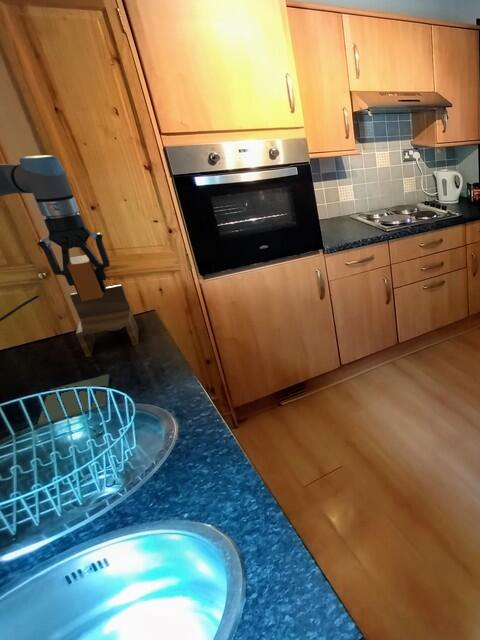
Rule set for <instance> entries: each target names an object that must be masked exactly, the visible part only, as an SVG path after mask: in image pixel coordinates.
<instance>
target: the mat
mask: <svg viewBox="0 0 480 640" xmlns="http://www.w3.org/2000/svg"><path fill="white" fill-rule="evenodd" d="M109 381H110V374H103V375H100V376H97V377H92V378H88V379H85V380H81V381H77V382H74V383H73V382H72V383H69V384H65V385H61V386H58V387H53V388H50V389H49V390H54V389H59V388H66V387H74V386H106V387H108V388H109ZM61 398H62V401H63V403H64V406H65V408H66V411H67V414H68V416H69V417H73V416H76V415H79V414H81V413H80V412H81V411H80V409H79V406H78V403H77V400H76V397H75V392H74V391H68V392H64V393H61ZM79 398H80V400H81V404H82V411H83V413H86V412H89V411H88V395H87V392H85V391H80V392H79ZM95 398H96V399H97V401H98V403H99V406H100V408H103V407H106V405H107V398H106V393H105V392H102V391H96V394H95ZM44 404H45V406H46V409H47V411H48V414H49V416H50V418H51V420H52V421H53V422H56V421H59V420H63V419H65V418H64V414H63V411H62V409H61V407H60V404H59V402H58V400H57V396H56V394H52V395H47V394H46V397H45V399H44V403H43V405H44ZM91 409H92V410H91V411H93V410H97V409H98V408H97V407H96V404H95V402H93V403H92V407H91ZM69 417H68V418H69ZM46 424H48V423H47V419H46V418H45V415H44V412H43V411H42V410H41V412H40V416H39V419H38V421H37V425H38V426H42V425H46Z"/></svg>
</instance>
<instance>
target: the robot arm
mask: <svg viewBox="0 0 480 640" xmlns="http://www.w3.org/2000/svg"><path fill="white" fill-rule="evenodd" d="M13 194H14V195H15V194H32V195H33V197H34V199H35V202H36V205H37V207H38V209H39V212H40V215H41V216H43V217H44V218H43V222H44V224H45V226H46V229H47V231H48V237H46V238H44V239H39V241H38V242H37V245H38V247H40V248H41V249H42V251H43V252H44V255H45V257H46V258H47V261H48V264H49V265H50V267H51V270H52V273H53V274H54V275H55V276H64V277H65V280H66V283H67V285H68V286H69V287H74V289H75V291H76V293H77V294H78V296H79V297H80V295H79V293H78V290H77V288H76V285H75V283H74V281H73V278H72V276H71V273H70V271H69V268H68V266H67V265H68V263H69V261H70V258H71V257H70V250H71V249H73V248H78V249H80V250H81V251H83V253H84V255H86V256H87V257H88V258H89V259H90V261H91V262H92V264H93V265H94V266H95V268H96V269H95V275H96V277H97V280H98V282H99V285H100V287H101V290H102V292H106V287H107V286H106V285H105V282H104V281H107V277H108V276H107V273H106V271H105V269H106V268H109V267H110V265H111V261H110V260H109V256H108V253H107V251H106V248H105V245H104V242H103V235H104V233H103V232H101V231H100V232H93V231H90V230H89V229H88V228H87V227H86V223H85V222H84V220H83V219H84V218H83V216H82V214H81V213H79V212H80V208H79V206H78V203H77V201H76V198H75V196H74V194H73V191H72V188H71V186H70V183H69V180H68V176H67V174H66V170H65V169H64V167H63V165H62V163H61V160H60V158H58V157H57V156H55V155H50V154H47V155H46V154H45V155H27V156H22V157H20V158H19V163H15V164H14V163H0V197H2V196H3V197H4V196H8V195H13ZM89 238H92V240H93V241H95V245H96V248H97V250H98V253H99V255H100V259H101V261H100V259H98V257H97V255H95V253H94V252H93V251H92V249H91V248H90V247H89V245H88V243H87V242H88V239H89ZM52 242H53V243H54V244H56V245H57V246H59V247H60V249H61V257H62V259H61V260H62V268H61V266H60V264H59V262H58V260H57V258H56V257H57V256H56V255H55V253H54V251H53V250H54V249H53V248H52V247H51V246H52ZM39 298H40V296H39V295H38V294H37V295H34V296H33V297H31V298H30V299H28V300H26V301H24V302H23V303H21V304H20V305H18V306H17V307H15V308H14V309H12V310H11V311H8V313H6V314H4V315H2V316H1V317H0V322H2V321H4V320H5V319H7V318H8V317H9V316H11V315H12V314H14V313H16V312H17V311H18V310H20V309H22V308H23V307H25V306H26V305H28V304H29V303H32V302H33V301H35V300H37V299H39Z"/></svg>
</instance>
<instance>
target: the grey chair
mask: <svg viewBox="0 0 480 640" xmlns="http://www.w3.org/2000/svg"><path fill="white" fill-rule="evenodd" d="M105 287H106V292H104V293H103V297H102V298H97V299H92V300H86V301H82V300H81V298H80V297H79V296H78V294H77V292H72V293H69V297H70V299H71V302H72V304H73V306H74V309H75V311H76V314H77V316H78V318H79V320H78V325H77V328H76V331H75V335H76V337H77V340H78V342H79V343H80V346H81V349H82V351H83V353H84V355H85V357H86V358H89V357H92V355H93V351H94V346H95V342H96V338H95V335H94V334H97V333H101V332H107V330H110V329H115V328H119V327H122V328H124V327H125V329H126V331H127V335H128V336H129V340H130V342H131V344H132V346H133V347H135V346H138V345H139V326H138V323H137V322H136V319H135V317H134V314H133V311H132V309H131V305H130V303H129V301H128V298H127V295H126V292H125V289H124V287H123V285H122V284H121V283H120V284H116V285H111V286H105Z"/></svg>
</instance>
